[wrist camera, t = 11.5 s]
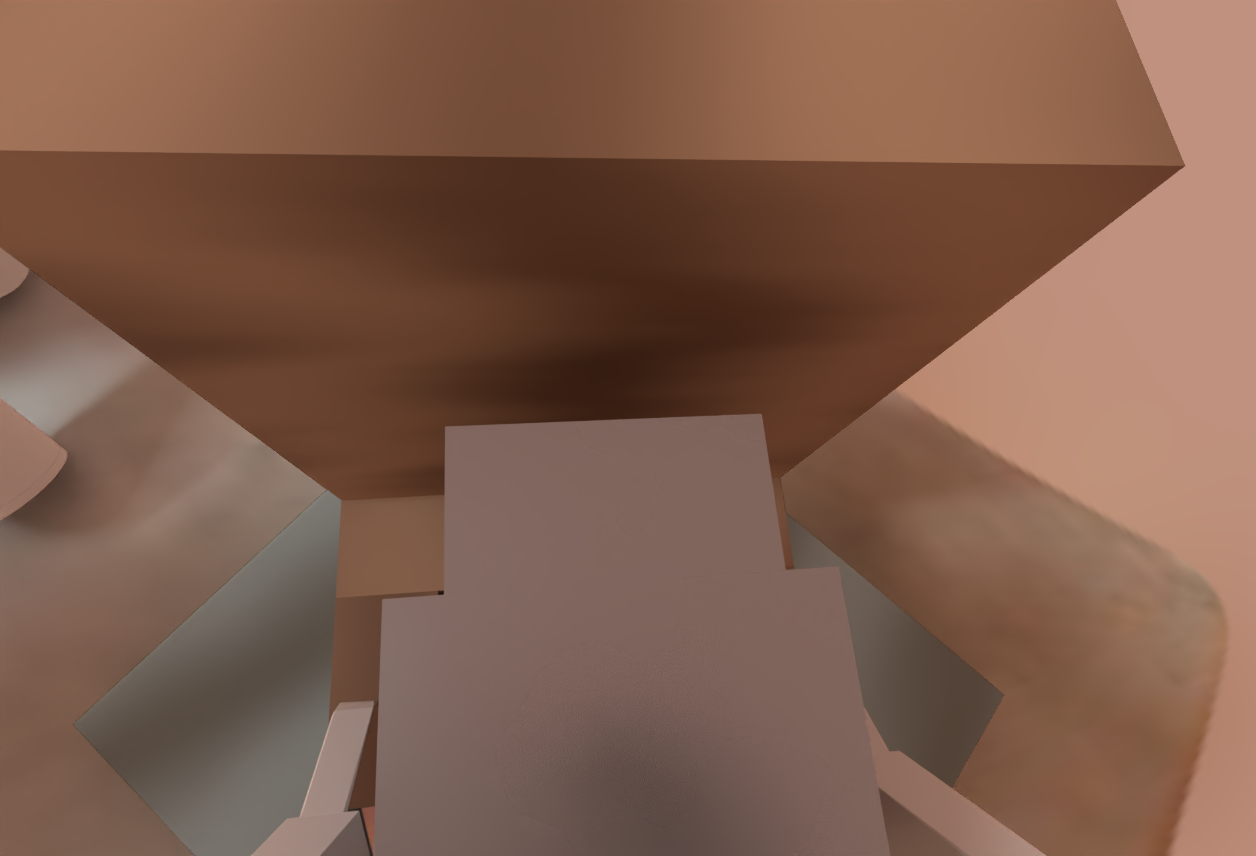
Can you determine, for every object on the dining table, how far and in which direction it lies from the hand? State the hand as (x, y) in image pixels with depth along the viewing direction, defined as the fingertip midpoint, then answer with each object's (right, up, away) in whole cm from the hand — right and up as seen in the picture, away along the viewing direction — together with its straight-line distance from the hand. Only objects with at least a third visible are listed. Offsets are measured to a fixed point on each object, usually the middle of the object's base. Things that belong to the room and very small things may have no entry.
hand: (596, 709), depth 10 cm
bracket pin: (0, -2, +5) cm, 5 cm away
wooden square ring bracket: (-1, -4, +9) cm, 9 cm away
